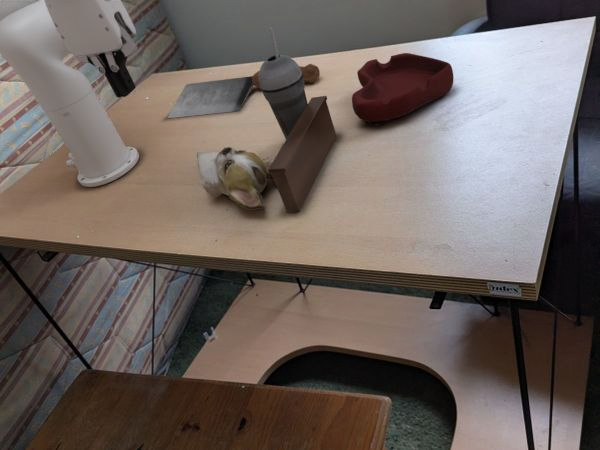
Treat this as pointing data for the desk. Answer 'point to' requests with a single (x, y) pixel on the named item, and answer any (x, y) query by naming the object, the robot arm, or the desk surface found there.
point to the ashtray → (399, 86)
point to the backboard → (303, 154)
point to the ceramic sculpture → (235, 175)
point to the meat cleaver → (223, 94)
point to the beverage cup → (283, 88)
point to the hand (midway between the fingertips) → (126, 92)
